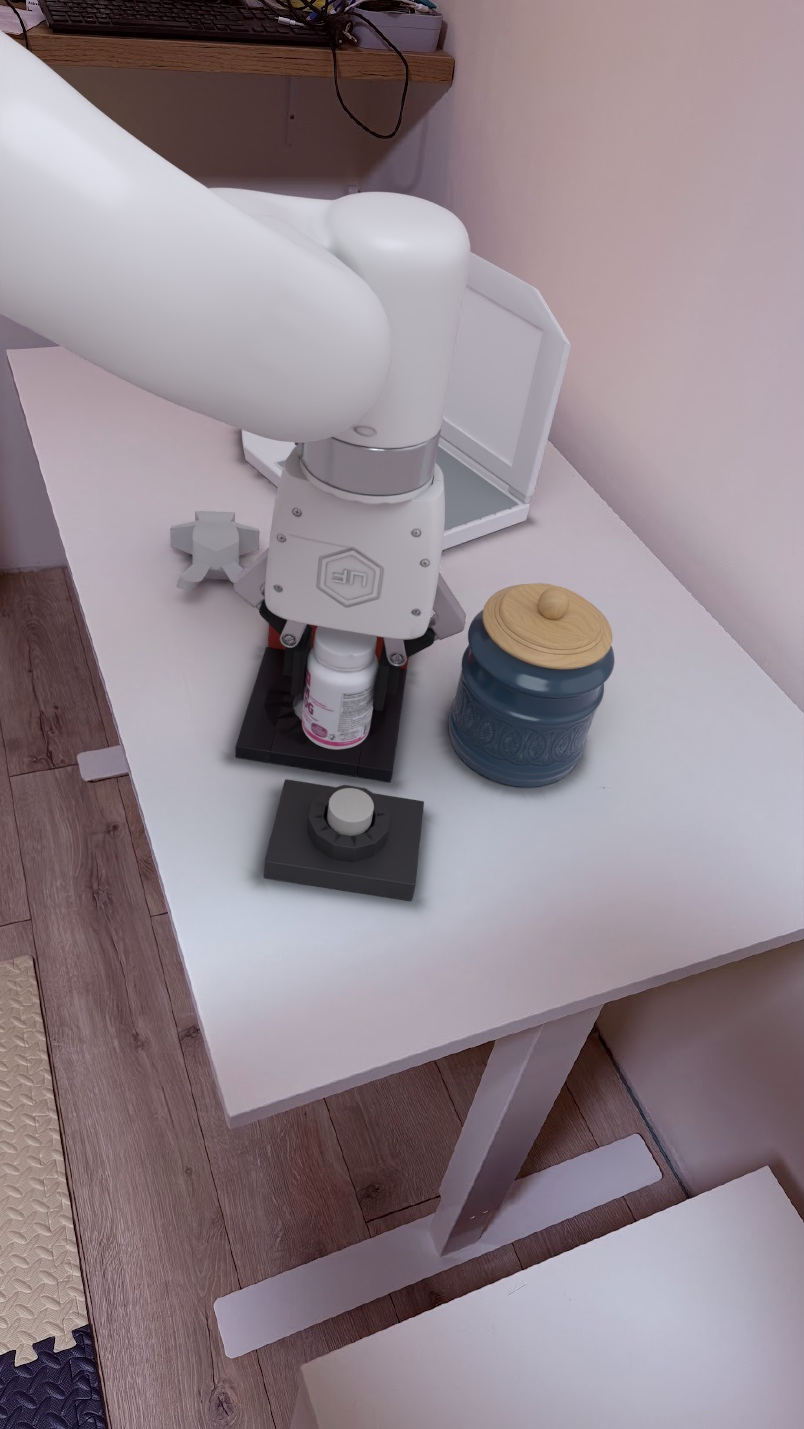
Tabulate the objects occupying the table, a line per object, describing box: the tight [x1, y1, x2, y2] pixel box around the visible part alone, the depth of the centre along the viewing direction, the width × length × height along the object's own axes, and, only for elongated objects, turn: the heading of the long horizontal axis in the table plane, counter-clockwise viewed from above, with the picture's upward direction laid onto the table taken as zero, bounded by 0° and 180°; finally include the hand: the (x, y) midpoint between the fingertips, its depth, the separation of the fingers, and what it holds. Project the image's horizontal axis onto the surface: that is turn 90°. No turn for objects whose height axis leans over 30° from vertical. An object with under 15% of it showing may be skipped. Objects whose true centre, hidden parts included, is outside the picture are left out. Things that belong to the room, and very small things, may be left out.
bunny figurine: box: [169, 510, 261, 591], centre depth 108 cm, size 10×5×15 cm
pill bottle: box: [301, 626, 379, 749], centre depth 68 cm, size 5×5×8 cm
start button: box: [327, 788, 374, 836], centre depth 81 cm, size 4×4×2 cm
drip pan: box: [234, 646, 408, 783], centre depth 95 cm, size 14×14×2 cm
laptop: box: [240, 251, 572, 551], centre depth 118 cm, size 33×24×26 cm
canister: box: [448, 582, 615, 788], centre depth 90 cm, size 13×13×18 cm
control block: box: [263, 778, 425, 902], centre depth 83 cm, size 12×9×4 cm
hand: (340, 687), depth 68 cm, fingers closed on pill bottle, 4 cm apart
